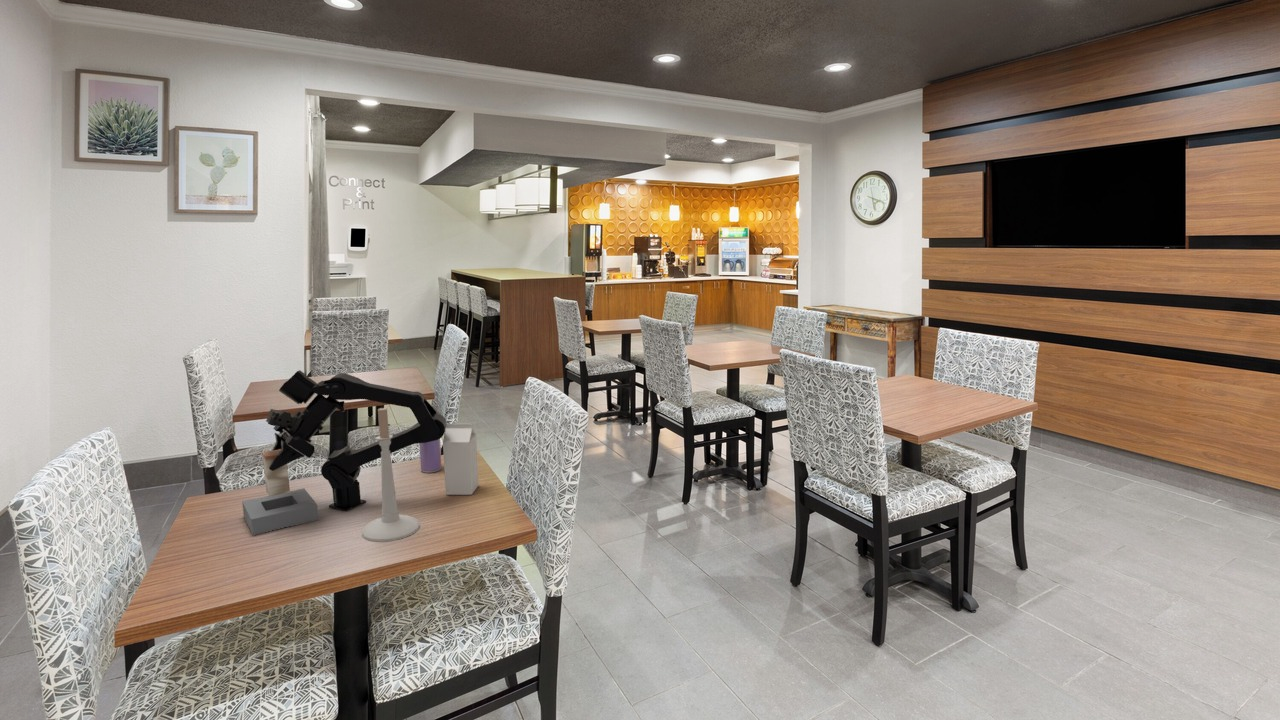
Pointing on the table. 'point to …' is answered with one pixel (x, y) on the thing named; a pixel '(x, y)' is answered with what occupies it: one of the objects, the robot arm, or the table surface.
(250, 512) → the socket block
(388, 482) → the candlestick
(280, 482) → the peg
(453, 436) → the milk carton
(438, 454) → the beverage can
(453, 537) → the table surface
